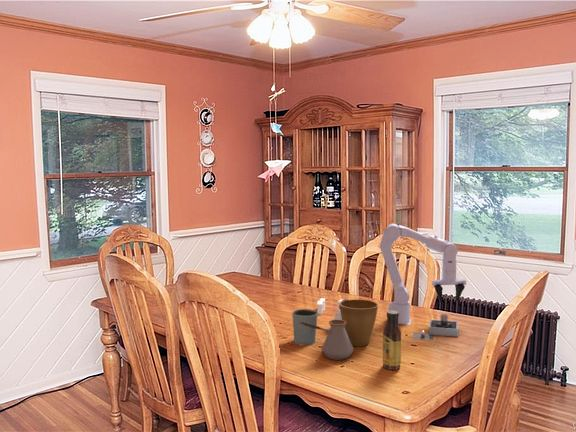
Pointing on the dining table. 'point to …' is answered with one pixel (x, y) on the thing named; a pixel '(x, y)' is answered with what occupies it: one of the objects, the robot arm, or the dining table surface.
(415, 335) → the stud plate
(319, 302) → the napkin holder
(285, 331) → the dining table surface
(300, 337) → the grey cup
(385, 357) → the sauce bottle
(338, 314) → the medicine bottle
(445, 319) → the knob
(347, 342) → the coffee pot
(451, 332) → the bin
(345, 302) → the plant pot
